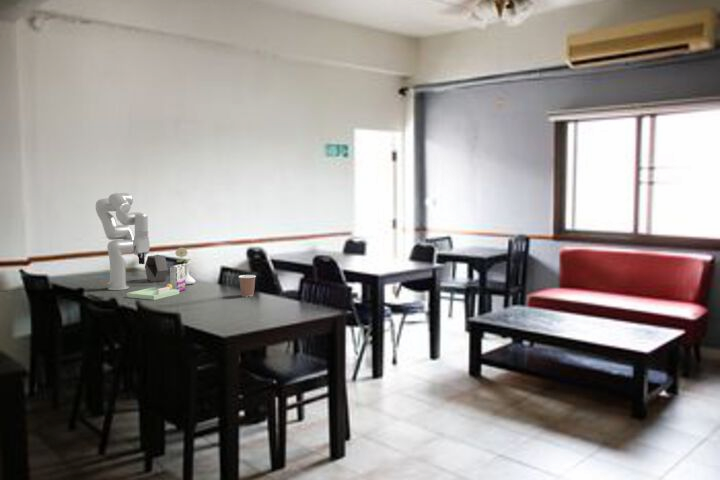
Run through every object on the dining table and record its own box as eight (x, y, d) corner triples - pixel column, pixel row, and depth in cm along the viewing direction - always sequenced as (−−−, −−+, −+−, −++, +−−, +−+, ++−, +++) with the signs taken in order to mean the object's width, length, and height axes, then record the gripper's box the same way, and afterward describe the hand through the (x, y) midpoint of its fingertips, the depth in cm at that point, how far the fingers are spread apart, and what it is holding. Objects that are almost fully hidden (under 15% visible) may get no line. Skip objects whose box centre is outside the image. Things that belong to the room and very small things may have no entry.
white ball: (152, 296, 369) (153, 289, 369) (157, 295, 373) (157, 288, 373) (158, 297, 368) (158, 290, 367) (162, 295, 372) (162, 289, 371)
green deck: (126, 297, 369) (126, 288, 369) (153, 291, 389) (152, 282, 389) (154, 299, 361) (153, 290, 360) (179, 293, 381) (179, 284, 380)
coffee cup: (259, 295, 377) (259, 275, 376) (248, 297, 368) (248, 277, 367) (246, 293, 382) (245, 274, 380) (235, 296, 373) (234, 276, 371)
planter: (142, 272, 437) (149, 249, 428) (153, 271, 443) (159, 249, 433) (152, 288, 428) (159, 265, 419) (163, 286, 434) (170, 263, 424)
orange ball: (164, 290, 377) (164, 284, 377) (168, 289, 381) (168, 283, 380) (169, 291, 375) (169, 284, 375) (174, 290, 379) (173, 283, 379)
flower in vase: (197, 282, 423) (196, 246, 421) (193, 285, 412) (192, 248, 410) (178, 282, 423) (177, 246, 421) (173, 285, 412) (172, 248, 409)
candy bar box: (178, 289, 396) (178, 264, 394) (185, 289, 395) (185, 264, 393) (170, 292, 385) (169, 266, 384) (177, 292, 384) (176, 266, 383)
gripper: (145, 232, 383) (145, 261, 385) (127, 234, 369) (127, 264, 371) (154, 233, 379) (155, 262, 382) (136, 235, 366) (137, 266, 368)
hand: (141, 263), depth 376 cm, fingers closed
